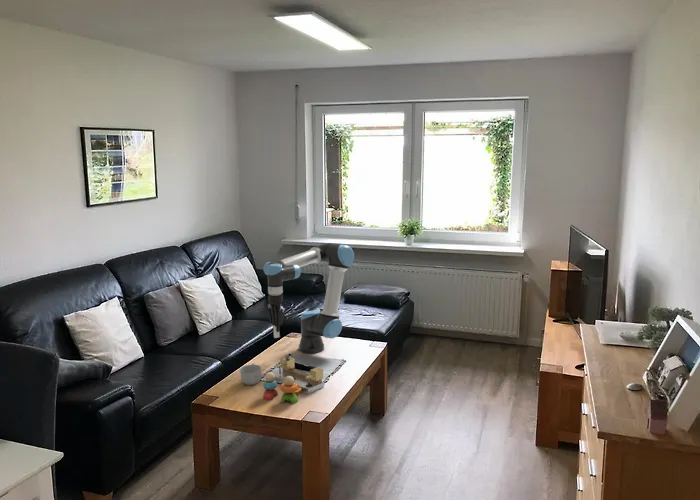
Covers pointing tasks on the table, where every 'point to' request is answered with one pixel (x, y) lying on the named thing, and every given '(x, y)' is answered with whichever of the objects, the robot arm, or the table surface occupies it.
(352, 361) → the table surface
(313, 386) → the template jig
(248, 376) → the teacup
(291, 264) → the robot arm
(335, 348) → the table surface
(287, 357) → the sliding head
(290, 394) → the stacking toy figures
